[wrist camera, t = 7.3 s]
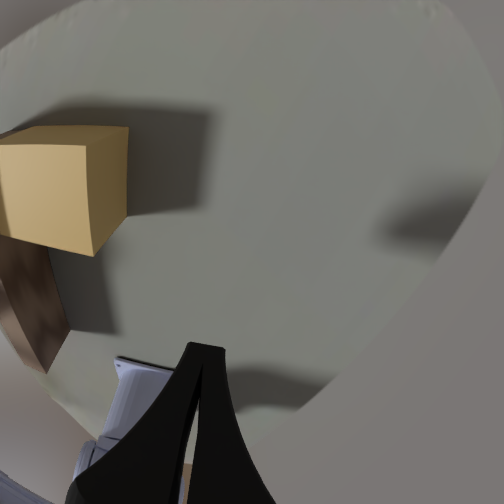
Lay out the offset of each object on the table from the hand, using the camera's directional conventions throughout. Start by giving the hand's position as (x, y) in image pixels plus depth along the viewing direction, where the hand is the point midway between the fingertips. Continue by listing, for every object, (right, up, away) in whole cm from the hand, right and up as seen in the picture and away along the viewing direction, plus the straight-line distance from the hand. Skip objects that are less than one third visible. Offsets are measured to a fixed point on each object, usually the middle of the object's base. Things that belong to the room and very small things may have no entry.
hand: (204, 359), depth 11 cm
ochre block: (-10, +10, +6) cm, 15 cm away
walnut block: (-17, +5, +9) cm, 19 cm away
